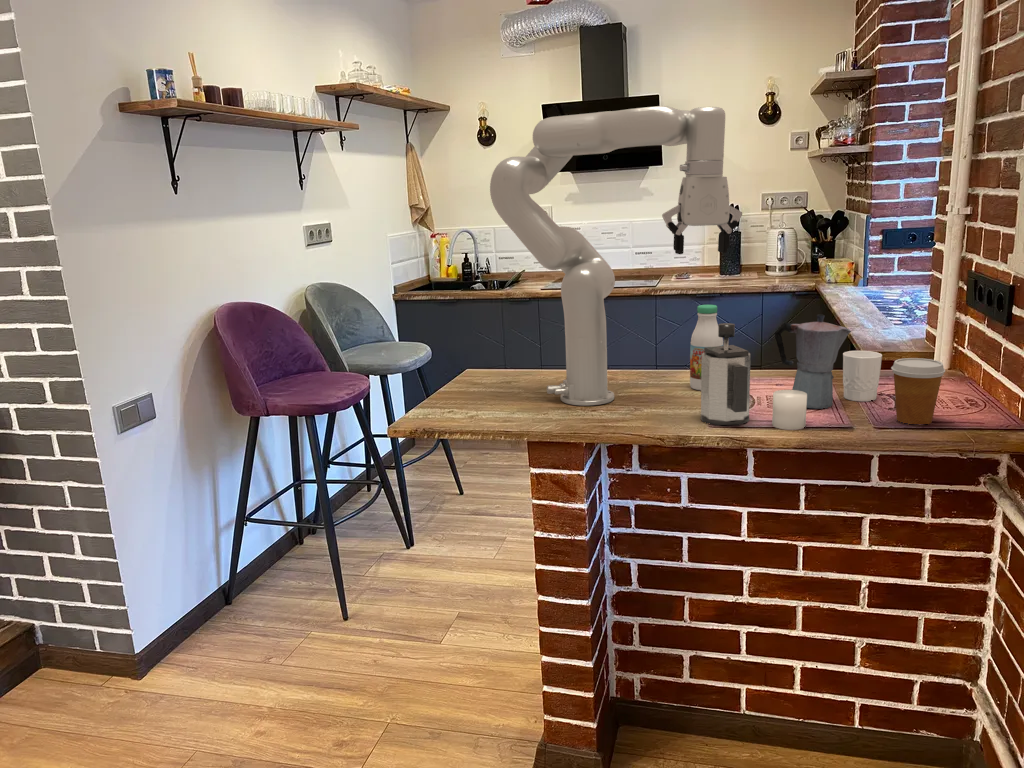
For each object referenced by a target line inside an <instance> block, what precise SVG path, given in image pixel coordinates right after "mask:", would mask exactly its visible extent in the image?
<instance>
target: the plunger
mask: <svg viewBox="0 0 1024 768" xmlns="http://www.w3.org/2000/svg"><path fill="white" fill-rule="evenodd" d="M717 324H718V323H717ZM735 325H736V324H735V323H729V322H726V323H722V322H721V323H719V324H718V337H723V346H724V350H728V345H729V340H730V339H729V338H734V337H735V330H736V329H735V327H736V326H735Z"/></svg>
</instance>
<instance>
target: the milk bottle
mask: <svg viewBox="0 0 1024 768" xmlns="http://www.w3.org/2000/svg"><path fill="white" fill-rule="evenodd" d="M696 311H697V316H698V317H697V321H696V325H695V328H694V330H693V331H692V333H691V338H690V347H689V348H690V349H689V350H690V352H689V353H690V354H689V361H690V362H689V363H690V364H689V386H690V388H691V389H693V390H697V391H701V367H702V354H703V353H705V352H704V347H715V346H724V338H723V337H718V321H717V316H718V306H717V305H716V304H701V305H700V304H699V305H698V306H697V308H696Z"/></svg>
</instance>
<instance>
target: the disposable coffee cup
mask: <svg viewBox="0 0 1024 768" xmlns="http://www.w3.org/2000/svg"><path fill="white" fill-rule="evenodd" d="M890 369H891V370H892V373H893V382H894V383H893V384H894V399H895V412H896V413H895V414H896V421H897V420H898V421H897V422H899V421H900V422H899V423H901V422H903V423H902V424H904V423H908V424H907V425H909V424H928V425H931V424H932V422H933V419H934V413H935V408H936V404H937V400H938V395H939V390H940V387H941V384H942V383H941V381H942V378H943V376H944V374H945V373H946V368H944V363H943V362H942V361H939V360H937V359H936V360H935V359H930V358H922V357H921V358H920V357H919V358H918V357H909V358H908V357H907V358H905V357H904V358H899V359H896V360H894V362H893V365H892V366H891V367H890Z"/></svg>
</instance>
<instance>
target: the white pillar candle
mask: <svg viewBox="0 0 1024 768" xmlns="http://www.w3.org/2000/svg"><path fill="white" fill-rule="evenodd" d="M772 394H773V395H772V418H771V419H772V420H771V421H772V422H771V425H772V427H774V428H777V429H780V430H785V431H786V430H788V431H792V430H793V431H795V430H796V431H797V430H802V429H804V427H805V426H806V425H807V408H806V407H807V393H805V392H803V391H798V390H792V389H779V390H778V389H777V390H775V391H773V393H772ZM805 428H806V427H805Z"/></svg>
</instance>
